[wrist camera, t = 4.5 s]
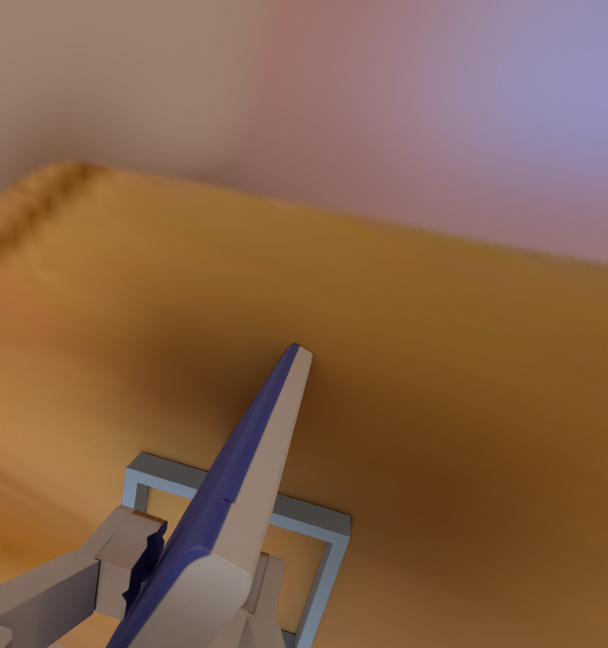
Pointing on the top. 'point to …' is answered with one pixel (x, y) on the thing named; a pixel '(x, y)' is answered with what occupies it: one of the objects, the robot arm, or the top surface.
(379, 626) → the top surface
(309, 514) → the frame
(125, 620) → the hard drive
